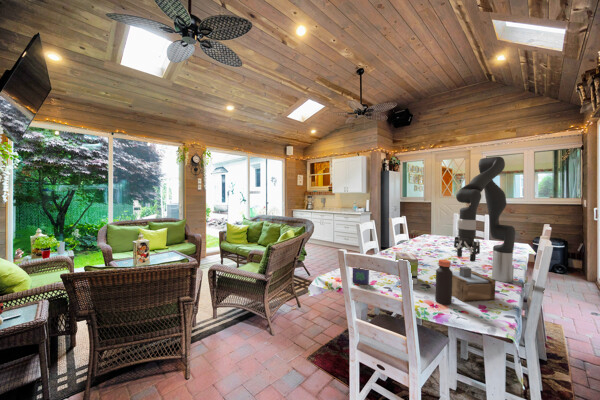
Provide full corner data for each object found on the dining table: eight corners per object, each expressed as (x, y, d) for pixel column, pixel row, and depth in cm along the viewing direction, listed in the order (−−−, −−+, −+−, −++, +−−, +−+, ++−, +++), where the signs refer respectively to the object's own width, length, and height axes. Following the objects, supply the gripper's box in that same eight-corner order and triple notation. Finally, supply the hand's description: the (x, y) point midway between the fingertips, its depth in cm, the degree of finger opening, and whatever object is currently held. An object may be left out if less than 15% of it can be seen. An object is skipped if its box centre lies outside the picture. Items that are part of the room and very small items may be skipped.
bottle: (442, 298, 123) (443, 258, 122) (454, 304, 117) (456, 262, 116) (431, 299, 121) (433, 259, 120) (444, 306, 115) (445, 263, 114)
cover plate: (443, 274, 135) (443, 264, 134) (466, 273, 136) (467, 263, 136) (463, 283, 121) (463, 272, 121) (488, 282, 122) (489, 271, 122)
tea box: (417, 284, 140) (418, 259, 139) (399, 283, 142) (399, 258, 141) (411, 275, 155) (412, 252, 154) (394, 274, 157) (395, 251, 156)
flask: (369, 283, 141) (369, 265, 140) (368, 285, 138) (368, 266, 138) (352, 281, 144) (353, 263, 144) (351, 283, 142) (352, 264, 141)
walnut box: (437, 287, 137) (438, 269, 136) (465, 286, 139) (466, 268, 138) (462, 301, 119) (463, 281, 119) (494, 300, 121) (495, 280, 121)
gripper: (485, 230, 121) (484, 263, 122) (463, 226, 135) (461, 255, 136) (471, 230, 120) (470, 263, 121) (450, 226, 134) (449, 255, 135)
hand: (465, 259), depth 128 cm, fingers open, 8 cm apart
